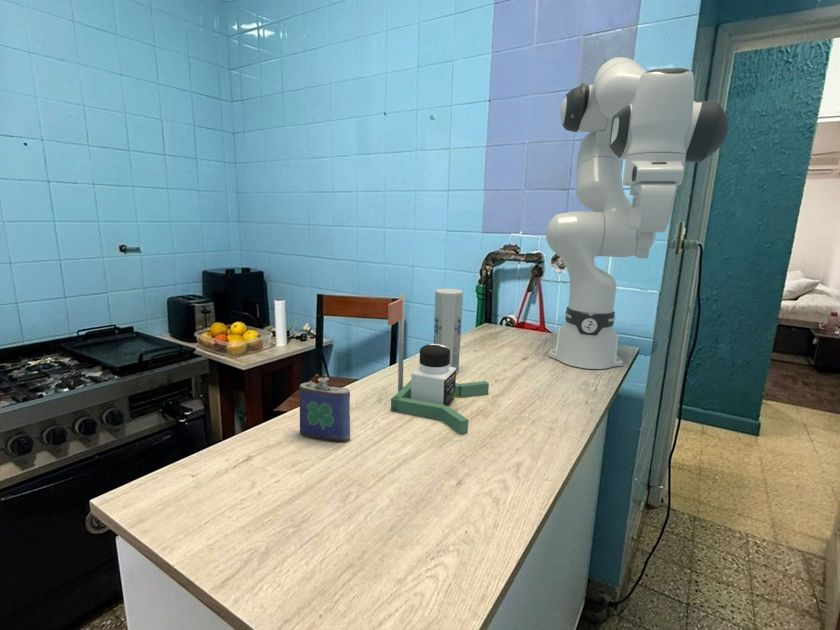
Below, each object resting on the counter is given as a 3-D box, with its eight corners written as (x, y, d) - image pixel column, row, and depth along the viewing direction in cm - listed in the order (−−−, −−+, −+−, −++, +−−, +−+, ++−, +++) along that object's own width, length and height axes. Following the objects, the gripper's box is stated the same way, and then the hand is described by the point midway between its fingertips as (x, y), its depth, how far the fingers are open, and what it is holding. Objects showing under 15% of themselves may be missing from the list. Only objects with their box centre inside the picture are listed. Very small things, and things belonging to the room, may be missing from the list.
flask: (352, 436, 76) (352, 378, 73) (345, 445, 73) (344, 384, 71) (304, 428, 78) (302, 371, 76) (295, 436, 76) (293, 377, 73)
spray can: (432, 366, 112) (435, 288, 107) (458, 367, 111) (462, 288, 107) (432, 375, 105) (435, 292, 101) (459, 376, 105) (463, 293, 100)
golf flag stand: (415, 380, 102) (417, 286, 97) (489, 392, 96) (495, 292, 91) (376, 418, 83) (377, 303, 78) (466, 435, 77) (472, 312, 72)
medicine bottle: (443, 413, 86) (446, 354, 83) (410, 406, 88) (411, 349, 86) (455, 399, 92) (457, 344, 89) (423, 393, 95) (425, 339, 92)
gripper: (626, 179, 84) (617, 252, 87) (638, 168, 66) (626, 261, 69) (663, 179, 82) (652, 254, 85) (687, 168, 63) (672, 264, 67)
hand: (641, 257), depth 77 cm, fingers closed
